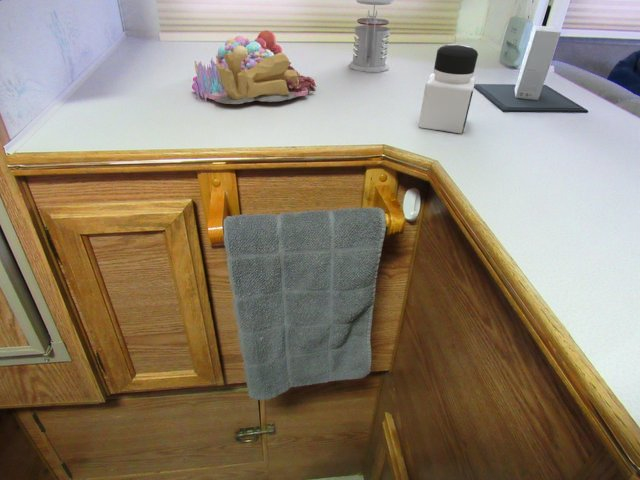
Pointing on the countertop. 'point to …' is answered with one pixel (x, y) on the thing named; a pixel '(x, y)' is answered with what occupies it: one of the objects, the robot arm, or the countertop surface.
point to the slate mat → (508, 102)
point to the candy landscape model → (250, 73)
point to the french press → (371, 41)
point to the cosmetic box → (536, 62)
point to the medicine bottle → (449, 89)
